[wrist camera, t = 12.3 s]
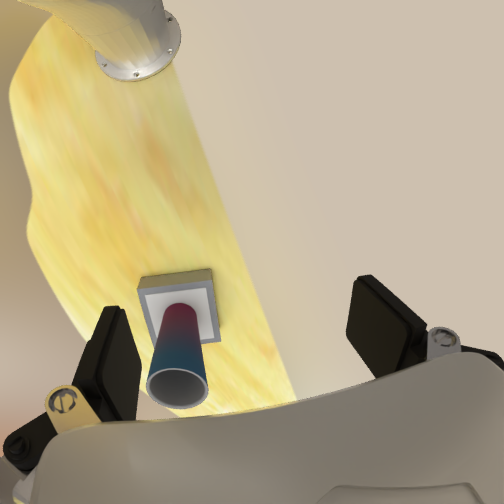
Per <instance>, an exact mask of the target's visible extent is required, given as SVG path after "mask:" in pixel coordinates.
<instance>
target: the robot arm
mask: <svg viewBox="0 0 504 504" xmlns="http://www.w3.org/2000/svg"><path fill="white" fill-rule="evenodd" d="M17 1H19V2H22V3H24V4H27V5H30V6H33V7H37V8H40V9H43V10H46V11H48V12H50V13H52V14H54V15H55V16H57V17H58V18H60V19H61V20H62V21H64V22H65V23H66V24H67V25H68V26H70V27H71V28H72V29H73V30H74V31H75V32H76V33H77V34H78V35H80V36H81V37H82V38H83V39H84V40H85V41H86V42H87V43H89V44H90V45H91V46H92V47H93V48H94V49H95V57H96V61H97V64H98V65H99V67H100V69H101V70H102V71H103V72H104V73H105V74H106V75H108V76H109V77H111V78H113V79H116V80H119V81H127V82H133V81H139V80H143V79H146V78H149V77H151V76H153V75H155V74H157V73H158V72H160V71H161V70H163V69H164V68H165V67H166V66H167V65H168V64H169V63H170V62H171V61H172V59H173V58H174V57H175V55H176V53H177V51H178V49H179V46H180V43H181V30H180V27H179V24H178V22H177V20H176V19H175V18H174V17H173V16H172V14H170V13H169V12H167V11H166V10H164V7H163V3H162V0H17ZM169 21H171V22H169ZM169 52H172V54H169ZM105 65H107V66H106V67H105ZM137 74H139V76H138V77H136V75H137ZM426 327H427V324H426V323H425V322H424V321H423V320H422V319H421V318H420V317H419V316H417V314H416V313H414V312H413V311H412V310H411V309H410V308H409V307H408V306H407V305H406V304H404V303H403V302H402V301H401V300H400V299H399V298H398V297H397V296H395V295H394V294H393V293H392V292H391V291H390V290H389V289H387V288H386V287H385V286H384V285H383V284H382V283H381V282H379V281H378V280H377V279H376V278H375V277H374V276H372V275H364V276H359V277H358V278H357V280H355V281H354V283H353V290H352V297H351V303H350V310H349V316H348V322H347V328H346V336H347V338H348V340H349V341H350V343H351V344H352V346H353V347H354V348H355V350H356V351H357V353H358V354H359V355H360V357H361V358H362V360H363V361H364V362H365V364H366V365H367V367H368V368H369V369H370V371H371V372H372V373H373V375H374V376H375V378H376V379H374V380H371V381H368V382H365V383H361V384H359V385H355V386H351V387H348V388H345V389H341V390H338V391H334V392H331V393H326V394H323V395H319V396H315V397H311V398H307V399H302V400H298V401H293V402H288V403H284V404H279V405H274V406H268V407H263V408H257V409H251V410H245V411H238V412H232V413H224V414H216V415H207V416H197V417H186V418H173V419H157V420H136V411H137V402H138V393H139V385H140V378H141V370H142V364H141V359H140V356H139V354H138V351H137V348H136V345H135V342H134V339H133V336H132V332H131V329H130V326H129V323H128V319H127V316H126V313H125V310H124V309H120V307H119V306H105V307H104V309H103V311H102V313H101V316H100V318H99V320H98V323H97V325H96V328H95V330H94V333H93V335H92V338H91V340H89V341H88V342H87V344H86V347H85V349H84V352H83V354H82V357H81V360H80V362H79V366H78V368H77V370H76V373H75V376H74V379H73V382H72V385H62V386H59V387H56V388H55V389H53V390H52V391H51V392H50V393H49V394H48V395H47V397H46V399H45V409H46V412H45V413H43V414H42V415H40V416H38V417H37V418H35V419H34V420H32V421H30V422H29V423H27V424H25V425H24V426H22V427H21V428H19V429H17V430H16V431H14V432H12V433H11V434H10V435H9V436H8V437H7V438H6V439H5V442H4V445H3V452H4V455H3V456H2V458H1V457H0V504H504V361H503V360H502V358H501V357H500V356H499V355H498V354H496V353H495V352H491V351H486V350H481V349H476V348H472V347H467V346H463V345H461V343H460V339H459V336H458V335H457V334H456V333H455V332H454V331H452V330H450V329H448V328H445V327H434V328H432V329H431V330H430V331H429V332H427V330H426Z"/></svg>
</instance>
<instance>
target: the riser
mask: <svg viewBox="0 0 504 504" xmlns="http://www.w3.org/2000/svg"><path fill="white" fill-rule="evenodd" d="M137 292H138V295H139V299H140V303H141V306H142V310H143V313H144V317H145V320H146V324H147V327H148V330H149V334H150V337H151V340H152V343H153V346H154V349H155V345H156V342H157V338H158V334H159V330H160V326H161V323H162V319H163V315H164V312H165V310H166V309H167V307H169V306H170V305H172V304H175V303H184V304H187V305H189V306H191V307H192V308H193V309H194V310H195V312H196V314H197V321H198V328H199V335H200V342H201V344H206V343H213V342H221V336H220V329H219V322H218V316H217V310H216V303H215V296H214V289H213V282H212V275H211V269H204V270H197V271H189V272H181V273H173V274H165V275H158V276H150V277H141V280H140V282H139V285H138V288H137Z"/></svg>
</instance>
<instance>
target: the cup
mask: <svg viewBox="0 0 504 504" xmlns="http://www.w3.org/2000/svg"><path fill="white" fill-rule="evenodd" d="M146 390H147V392H148V394H149V396H150V397H151V398H152V399H153V400H154V401H155V402H157V403H158V404H160V405H162V406H165V407H168V408H173V409H188V408H192V407H195V406H197V405H199V404H201V403H202V402H203V401H204V400H205V399H206V397H207V395H208V384H207V379H206V373H205V367H204V361H203V354H202V348H201V342H200V335H199V328H198V321H197V314H196V312H195V310H194V309H193V308H192V307H191V306H189V305H187V304H184V303H175V304H172V305H170V306H169V307H167V309H166V310H165V312H164V315H163V319H162V323H161V326H160V330H159V334H158V338H157V342H156V345H155V349H154V353H153V357H152V362H151V366H150V370H149V374H148V378H147V383H146Z"/></svg>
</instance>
